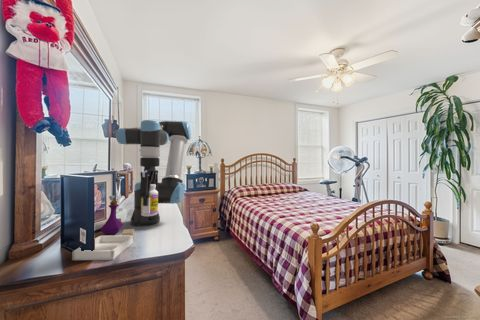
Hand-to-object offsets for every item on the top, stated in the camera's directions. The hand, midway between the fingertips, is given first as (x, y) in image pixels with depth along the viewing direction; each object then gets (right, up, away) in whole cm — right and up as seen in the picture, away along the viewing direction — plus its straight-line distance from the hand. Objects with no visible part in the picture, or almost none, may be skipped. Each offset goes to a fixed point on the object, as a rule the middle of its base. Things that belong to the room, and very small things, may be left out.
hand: (149, 211), depth 89 cm
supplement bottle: (0, -2, 0) cm, 2 cm away
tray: (-13, -13, -9) cm, 20 cm away
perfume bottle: (-22, -13, +9) cm, 27 cm away
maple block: (-10, -13, +2) cm, 17 cm away
